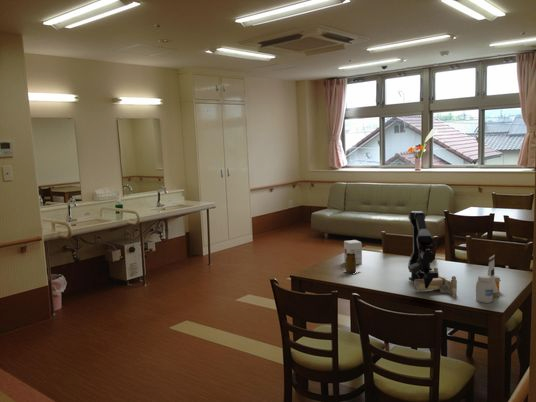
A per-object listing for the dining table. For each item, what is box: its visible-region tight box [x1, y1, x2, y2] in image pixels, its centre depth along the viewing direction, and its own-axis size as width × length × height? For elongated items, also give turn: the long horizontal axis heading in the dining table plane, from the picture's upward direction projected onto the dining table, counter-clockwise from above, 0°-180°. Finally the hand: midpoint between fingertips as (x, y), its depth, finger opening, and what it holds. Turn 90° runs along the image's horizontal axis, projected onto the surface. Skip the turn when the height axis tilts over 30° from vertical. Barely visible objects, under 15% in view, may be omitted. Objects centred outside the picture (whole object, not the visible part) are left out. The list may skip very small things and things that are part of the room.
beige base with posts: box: [433, 267, 458, 297], centre depth 247 cm, size 20×5×10 cm, turn 9°
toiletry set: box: [475, 254, 501, 304], centre depth 234 cm, size 25×8×20 cm, turn 139°
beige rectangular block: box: [413, 278, 443, 292], centre depth 246 cm, size 4×14×5 cm, turn 99°
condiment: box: [345, 252, 357, 275], centre depth 287 cm, size 7×8×12 cm
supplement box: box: [343, 239, 363, 265], centre depth 309 cm, size 9×9×15 cm
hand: (424, 287), depth 245 cm, fingers closed on beige rectangular block, 4 cm apart
